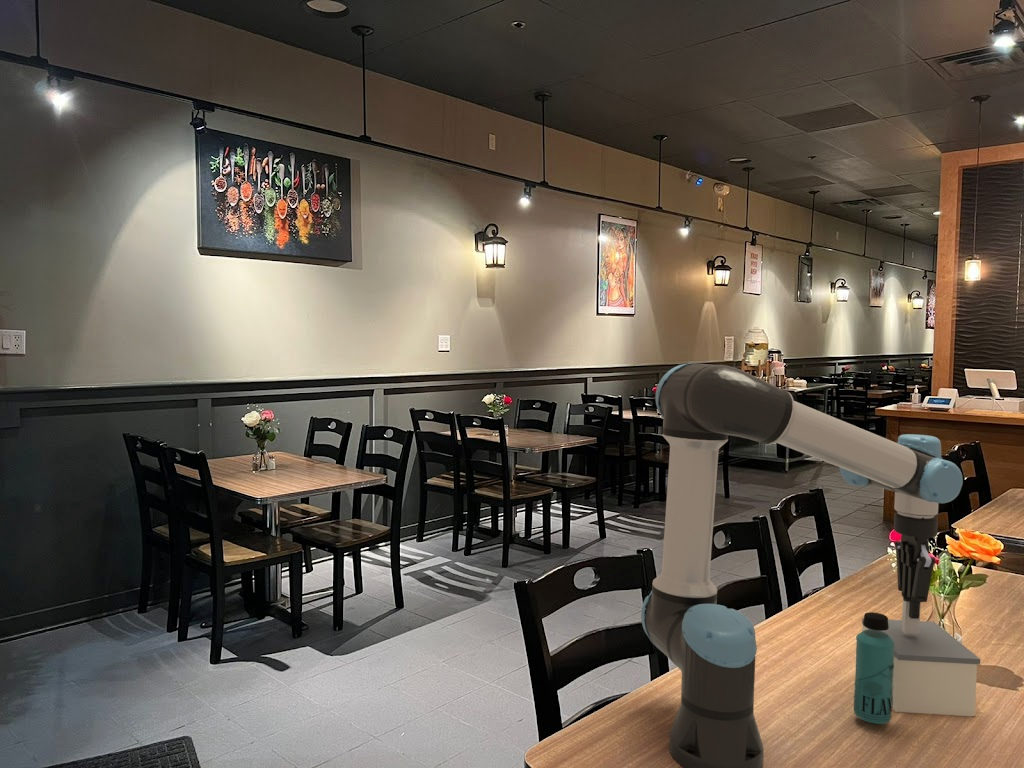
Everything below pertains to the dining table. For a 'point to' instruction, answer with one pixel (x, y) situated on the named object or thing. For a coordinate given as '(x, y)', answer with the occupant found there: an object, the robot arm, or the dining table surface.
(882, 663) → the beverage bottle
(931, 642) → the lid
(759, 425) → the robot arm
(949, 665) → the box
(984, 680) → the dining table surface
